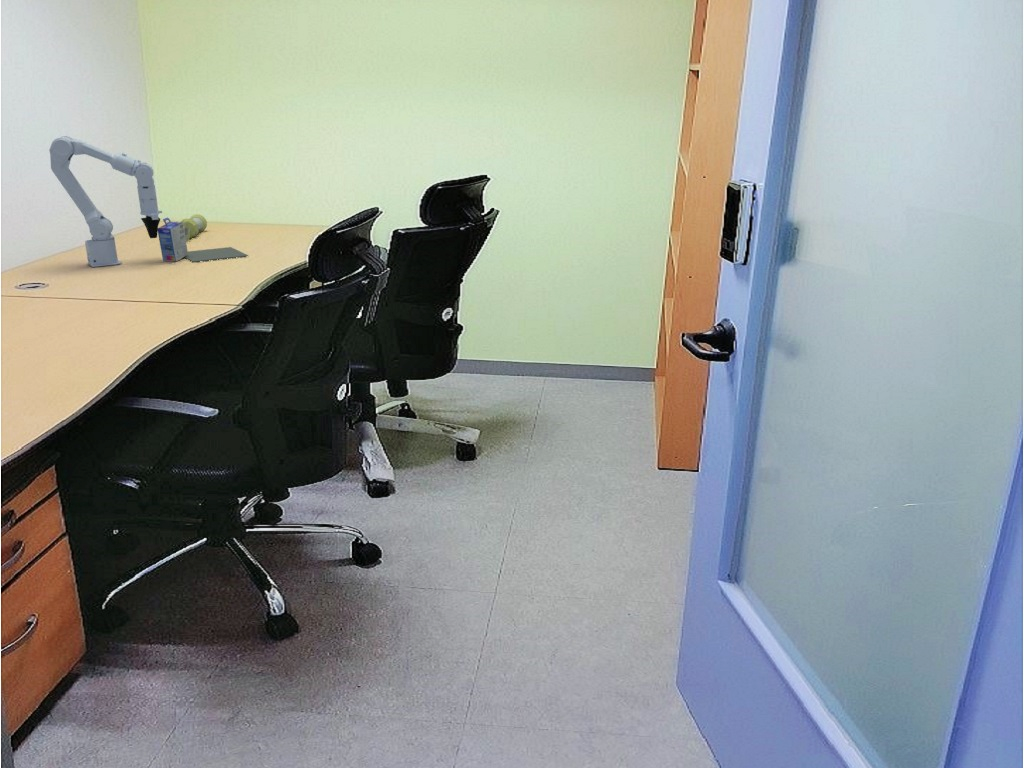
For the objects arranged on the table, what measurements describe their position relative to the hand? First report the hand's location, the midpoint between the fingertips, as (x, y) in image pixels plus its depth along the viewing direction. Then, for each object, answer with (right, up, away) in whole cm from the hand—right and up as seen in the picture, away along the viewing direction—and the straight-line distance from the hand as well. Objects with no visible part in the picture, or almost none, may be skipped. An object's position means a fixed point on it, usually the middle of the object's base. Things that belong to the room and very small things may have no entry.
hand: (153, 237), depth 296 cm
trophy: (-6, +9, +50) cm, 52 cm away
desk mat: (+16, -4, +14) cm, 22 cm away
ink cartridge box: (+5, -6, +6) cm, 10 cm away
